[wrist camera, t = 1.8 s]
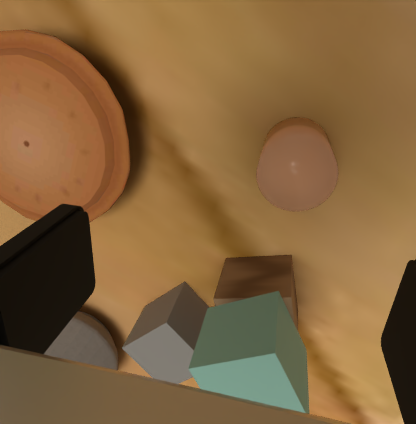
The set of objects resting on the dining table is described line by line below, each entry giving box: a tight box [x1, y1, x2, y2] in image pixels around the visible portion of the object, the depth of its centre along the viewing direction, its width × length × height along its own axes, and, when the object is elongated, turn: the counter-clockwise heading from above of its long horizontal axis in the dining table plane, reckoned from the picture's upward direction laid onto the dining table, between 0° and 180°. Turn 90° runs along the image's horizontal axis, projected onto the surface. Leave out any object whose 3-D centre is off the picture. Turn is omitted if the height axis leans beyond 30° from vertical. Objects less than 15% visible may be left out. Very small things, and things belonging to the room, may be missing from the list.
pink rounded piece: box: [256, 117, 338, 211], centre depth 25 cm, size 5×5×6 cm
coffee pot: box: [44, 311, 118, 370], centre depth 35 cm, size 21×12×15 cm, turn 62°
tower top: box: [188, 291, 309, 414], centre depth 26 cm, size 6×6×6 cm
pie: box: [0, 30, 130, 222], centre depth 29 cm, size 15×16×5 cm
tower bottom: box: [214, 255, 298, 331], centre depth 31 cm, size 6×6×6 cm
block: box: [122, 282, 209, 384], centre depth 35 cm, size 6×6×6 cm
